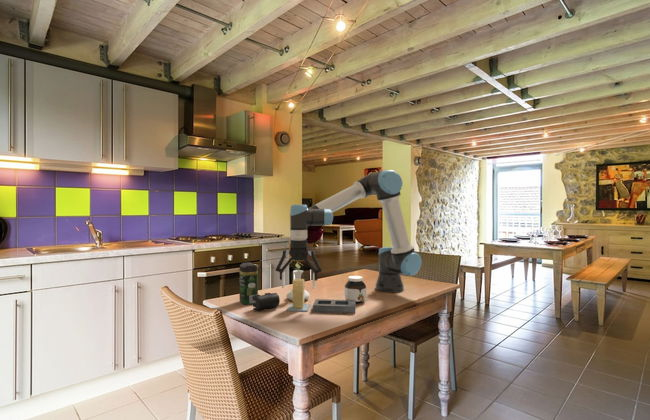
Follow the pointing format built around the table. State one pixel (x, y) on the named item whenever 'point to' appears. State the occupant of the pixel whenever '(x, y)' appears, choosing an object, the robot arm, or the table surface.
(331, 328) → the table surface
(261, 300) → the end cap
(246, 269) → the coffee jar
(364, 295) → the spread jar
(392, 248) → the robot arm
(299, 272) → the flower in vase
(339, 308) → the steel socket block
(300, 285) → the brass peg
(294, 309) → the slate pad
